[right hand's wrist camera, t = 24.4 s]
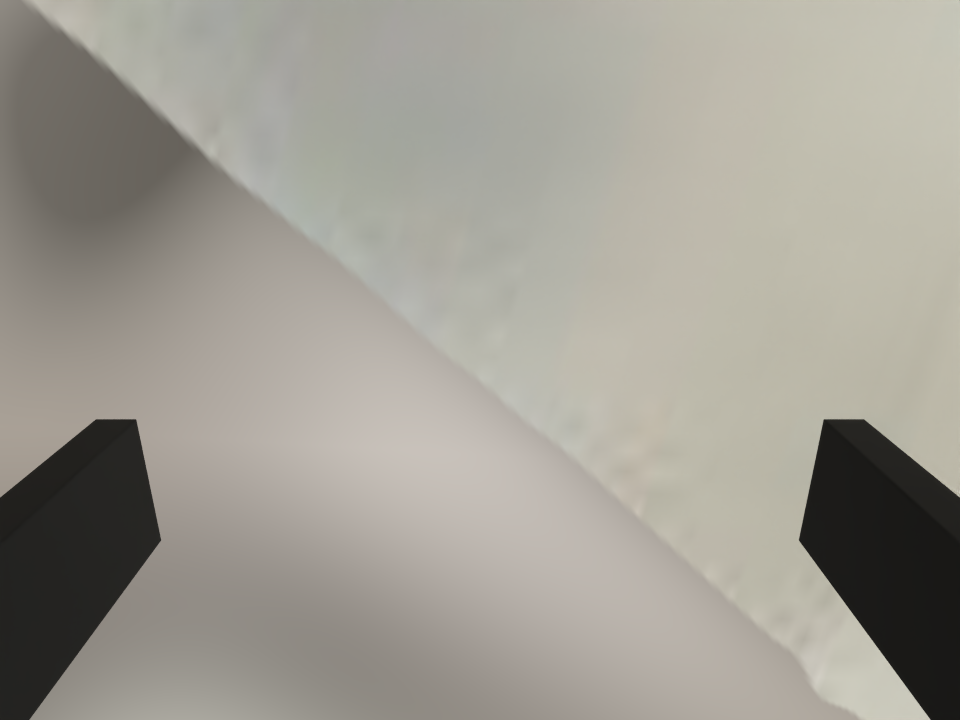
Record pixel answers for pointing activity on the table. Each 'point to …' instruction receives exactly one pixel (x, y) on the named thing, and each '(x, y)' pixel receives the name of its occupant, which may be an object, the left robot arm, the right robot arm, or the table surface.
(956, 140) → the table surface
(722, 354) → the table surface
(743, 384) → the table surface
